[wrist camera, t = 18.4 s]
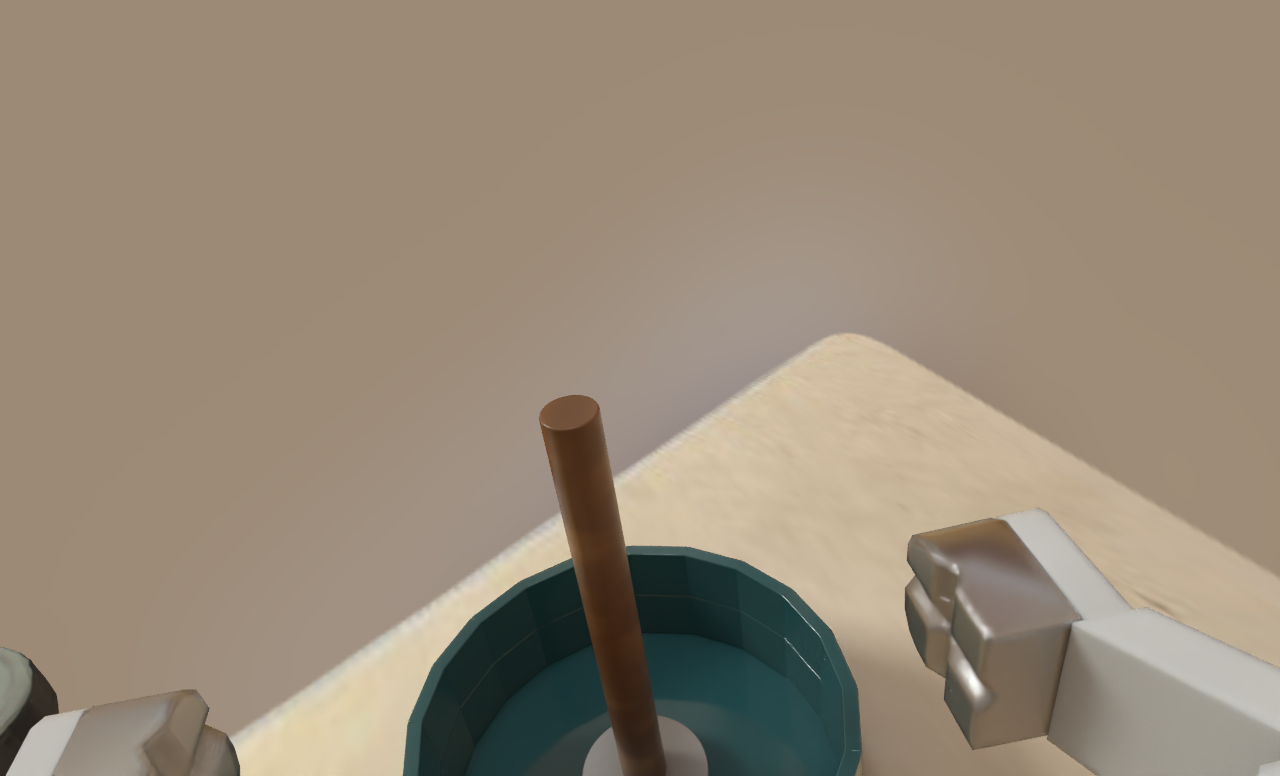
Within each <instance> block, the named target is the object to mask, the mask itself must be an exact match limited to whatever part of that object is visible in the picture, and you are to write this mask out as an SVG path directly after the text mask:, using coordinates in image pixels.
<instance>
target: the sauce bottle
mask: <svg viewBox="0 0 1280 776" xmlns="http://www.w3.org/2000/svg"><path fill="white" fill-rule="evenodd" d="M55 714H59V710H58V701H57V696H56V693H55V691H54V690H53V688H52V687H51V685H50V684H49V682H48V681H47V680H46V678H45V677H44V676H43V674H41V672H40V671H39V670H38V669H37V668H36V666H35V665H34V664H33V663H32V661H31V660H30V659H28V658H27V657H25V656H24V655H23V654H21V653H20V652H17V651H14V650H11V649H7V648H3V647H0V776H6V774H7V772H8V770H9V768H10V767H11V765H12V763H13V761H14V759H15V757H16V755H17V753H18V751H19V750H20V748H21V746H22V744H23V742H24V740H25V738H26V736H27V734H28V733H29V731H30V729H31V728H32V727H33V726H35V725H36V724H37V723H38V722H39V721H40V720H42V719H43V718H44V717H45V716H49V715H55Z"/></svg>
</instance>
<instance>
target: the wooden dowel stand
mask: <svg viewBox="0 0 1280 776" xmlns="http://www.w3.org/2000/svg"><path fill="white" fill-rule="evenodd" d="M539 421H540V425H541V429H542V433H543V438H544V442H545V446H546V450H547V454H548V459H549V463H550V467H551V472H552V476H553V480H554V484H555V489H556V493H557V497H558V501H559V505H560V510H561V514H562V518H563V522H564V527H565V531H566V535H567V539H568V544H569V548H570V552H571V556H572V560H573V565H574V569H575V573H576V577H577V582H578V586H579V590H580V594H581V598H582V603H583V607H584V611H585V615H586V620H587V624H588V628H589V632H590V637H591V641H592V645H593V649H594V653H595V658H596V662H597V666H598V670H599V675H600V679H601V683H602V687H603V691H604V696H605V700H606V704H607V708H608V713H609V717H610V721H611V725H612V727H611V728H609V729H608V730H606V731H605V732H604V733H603V734H602V735H601V736H600V737H599V738H598V739H597V740H596V742H595V743H594V744H593V746H592V747H591V749H590V751H589V753H588V755H587V758H586V760H585V763H584V767H583V775H582V776H710V774H709V767H708V761H707V756H706V753H705V750H704V748H703V746H702V744H701V742H700V741H699V739H698V738H697V736H696V735H695V734H694V733H693V732H692V731H691V730H690V729H688V728H687V727H686V726H685V725H683V724H681V723H680V722H678V721H676V720H673V719H670V718H667V717H663V716H657V713H656V707H655V702H654V697H653V691H652V686H651V681H650V675H649V670H648V665H647V659H646V654H645V649H644V643H643V638H642V633H641V627H640V622H639V616H638V611H637V606H636V600H635V595H634V590H633V584H632V579H631V574H630V568H629V563H628V558H627V552H626V547H625V542H624V536H623V531H622V526H621V520H620V515H619V510H618V504H617V499H616V493H615V488H614V483H613V477H612V472H611V467H610V461H609V456H608V451H607V445H606V441H605V435H604V429H603V424H602V419H601V413H600V408H599V406H598V404H597V402H596V401H595V400H593V399H592V398H590V397H587V396H582V395H570V396H565V397H561V398H558V399H556V400H553V401H552V402H550V403H548V404H547V405H546V406H545V407H544V408H543V409H542V411H541V412H540V416H539Z"/></svg>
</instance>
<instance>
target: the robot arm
mask: <svg viewBox="0 0 1280 776" xmlns="http://www.w3.org/2000/svg"><path fill="white" fill-rule="evenodd" d="M907 561H908V563H909V565H910V566H911V568H912V570H913V571H914V573H915V576H914V577H913V579H912V580H911V581H910V582H909V584H908V585H907V586H906V587H905V611H906V616H907V621H908V626H909V631H910V633H911V636H912V638H913V641H914V644H915V646H916V649H917V651H918V652H919V654H920V656H921V658H922V660H923V662H924V664H925V666H926V667H927V668H929V669H931V670H932V671H934V672H936V673H937V674H939V675H941V676H942V677H944V678H946V683H945V693H944V700H945V702H946V704H947V706H948V707H949V709H950V711H951V713H952V715H953V716H954V718H955V720H956V722H957V723H958V725H959V727H960V729H961V731H962V732H963V734H964V736H965V738H966V740H967V741H968V743H969V745H970V747H971V748H972V750H975V749H980V748H986V747H991V746H996V745H1001V744H1006V743H1011V742H1016V741H1021V740H1026V739H1031V738H1036V737H1041V736H1046V735H1048V737H1047V740H1049V741H1050V742H1051V743H1053V744H1054V745H1055V746H1057V747H1058V748H1060V749H1061V750H1062V751H1064V752H1065V753H1066V754H1068V755H1069V756H1071V757H1072V758H1073V759H1075V760H1076V761H1077V762H1079V763H1080V764H1082V765H1083V766H1084V767H1086V768H1087V769H1088V770H1090V771H1091V772H1093V773H1094V774H1095V775H1097V776H1280V668H1279V667H1277V666H1274V665H1272V664H1270V663H1268V662H1266V661H1263V660H1261V659H1259V658H1257V657H1255V656H1253V655H1250V654H1248V653H1246V652H1244V651H1242V650H1240V649H1237V648H1235V647H1233V646H1231V645H1229V644H1226V643H1224V642H1222V641H1220V640H1218V639H1216V638H1213V637H1211V636H1209V635H1207V634H1205V633H1202V632H1200V631H1198V630H1196V629H1194V628H1192V627H1189V626H1187V625H1185V624H1183V623H1181V622H1179V621H1176V620H1174V619H1172V618H1170V617H1168V616H1165V615H1163V614H1161V613H1159V612H1157V611H1155V610H1152V609H1150V608H1148V607H1144V608H1139V609H1133V608H1132V607H1131V606H1130V605H1129V604H1128V602H1127V601H1126V600H1125V599H1124V598H1123V597H1122V596H1121V594H1120V593H1119V592H1118V591H1117V590H1116V589H1115V588H1114V587H1113V585H1112V584H1111V583H1110V582H1109V581H1108V580H1107V579H1106V578H1105V576H1104V575H1103V574H1102V573H1101V572H1100V571H1099V570H1098V568H1097V567H1096V566H1095V565H1094V564H1093V563H1092V562H1091V561H1090V559H1089V558H1088V557H1087V556H1086V555H1085V554H1084V553H1083V552H1082V550H1081V549H1080V548H1079V547H1078V546H1077V545H1076V544H1075V542H1074V541H1073V540H1072V539H1071V538H1070V537H1069V536H1068V535H1067V533H1066V532H1065V531H1064V530H1063V529H1062V528H1061V527H1060V526H1059V524H1058V523H1057V522H1056V521H1055V520H1054V519H1053V518H1052V516H1051V515H1050V514H1049V513H1048V512H1046V511H1044V510H1042V509H1040V508H1034V509H1030V510H1025V511H1021V512H1016V513H1012V514H1007V515H1002V516H998V517H996V518H988V519H983V520H979V521H974V522H970V523H965V524H961V525H956V526H952V527H947V528H943V529H938V530H934V531H929V532H925V533H920V534H916V535H912V537H911V539H910V541H909V543H908V551H907ZM208 712H209V707H208V705H207V704H206V703H205V701H204V700H203V699H202V697H201V696H200V695H199V693H198V692H197V690H180V691H174V692H169V693H164V694H158V695H153V696H148V697H142V698H137V699H131V700H126V701H121V702H115V703H110V704H104V705H99V706H94V707H92V708H87V709H82V710H76V711H71V712H66V713H60V714H55V715H49V716H45V717H44V718H43V719H42V720H40V721H39V722H38V723H37V724H36V725H35V726H33V727H32V728H31V729H30V731H29V733H28V734H27V736H26V738H25V740H24V742H23V744H22V746H21V748H20V750H19V751H18V753H17V755H16V757H15V759H14V761H13V763H12V765H11V767H10V768H9V770H8V772H7V774H6V776H240V765H239V761H238V758H237V755H236V751H235V748H234V746H233V744H232V743H231V741H230V739H229V738H228V736H227V735H226V733H224V732H221V731H219V730H217V729H214V728H212V727H210V726H207V725H205V721H206V718H207V715H208Z"/></svg>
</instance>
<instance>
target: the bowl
mask: <svg viewBox="0 0 1280 776" xmlns="http://www.w3.org/2000/svg"><path fill="white" fill-rule="evenodd" d="M626 552H627V558H628V563H629V568H630V574H631V579H632V584H633V590H634V595H635V600H636V606H637V611H638V616H639V622H640V627H641V633H642V638H643V643H644V649H645V654H646V659H647V665H648V670H649V675H650V681H651V686H652V691H653V697H654V702H655V707H656V713H657V716H663V717H667V718H670V719H673V720H676V721H678V722H680V723H681V724H683V725H685V726H686V727H687V728H688V729H690V730H691V731H692V732H693V733H694V734H695V735H696V736H697V738H698V739H699V741H700V742H701V744H702V746H703V748H704V750H705V753H706V756H707V761H708V767H709V774H710V776H861V772H862V743H861V728H860V713H859V697H858V688H857V685H856V682H855V680H854V678H853V676H852V674H851V671H850V669H849V667H848V665H847V662H846V660H845V658H844V656H843V654H842V651H841V649H840V647H839V645H838V643H837V640H836V638H835V636H834V634H833V632H832V630H831V629H830V628H829V627H828V626H827V625H826V624H825V623H824V622H823V621H822V620H821V619H820V618H819V617H818V616H817V614H816V613H815V612H814V611H813V610H812V609H811V608H810V607H809V606H808V605H807V604H806V603H805V602H804V601H803V600H802V599H801V598H800V597H799V595H798V594H797V593H796V592H795V591H794V590H792V589H791V588H790V587H788V586H786V585H784V584H783V583H781V582H779V581H777V580H776V579H774V578H772V577H770V576H769V575H767V574H765V573H763V572H761V571H760V570H758V569H756V568H754V567H753V566H751V565H749V564H747V563H746V562H744V561H741V560H737V559H733V558H729V557H725V556H722V555H718V554H714V553H710V552H706V551H702V550H699V549H695V548H691V547H688V548H687V547H673V546H631V547H630V546H626ZM611 727H612V725H611V721H610V717H609V713H608V708H607V704H606V700H605V696H604V691H603V687H602V683H601V679H600V675H599V670H598V666H597V662H596V658H595V653H594V649H593V645H592V641H591V637H590V632H589V628H588V624H587V620H586V615H585V611H584V607H583V603H582V598H581V594H580V590H579V586H578V582H577V577H576V573H575V569H574V565H573V560H572V558H571V559H569V560H566V561H564V562H562V563H560V564H557V565H555V566H553V567H551V568H548V569H546V570H544V571H542V572H540V573H537V574H535V575H533V576H531V577H528V578H526V579H524V580H522V581H520V582H518V583H517V584H516V585H514V586H513V587H512V588H510V589H509V590H508V591H506V592H505V593H504V594H502V595H501V596H500V597H498V598H497V599H496V600H494V601H493V602H492V603H490V604H489V605H488V606H486V607H485V608H484V609H482V610H481V611H480V612H478V613H477V614H476V615H474V616H473V617H472V619H470V620H469V621H468V622H467V624H466V625H465V626H464V627H463V629H462V630H461V631H460V632H459V634H458V635H457V636H456V637H455V638H454V640H453V641H452V642H451V643H450V645H449V646H448V647H447V648H446V650H445V651H444V652H443V653H442V654H441V656H440V657H439V658H438V659H437V661H436V662H435V663H434V664H433V666H432V668H431V670H430V672H429V675H428V677H427V679H426V682H425V684H424V686H423V689H422V691H421V693H420V696H419V698H418V700H417V703H416V705H415V707H414V710H413V712H412V714H411V716H410V719H409V721H408V725H407V735H406V747H405V758H404V769H403V776H582V775H583V767H584V763H585V760H586V758H587V755H588V753H589V751H590V749H591V747H592V746H593V744H594V743H595V742H596V740H597V739H598V738H599V737H600V736H601V735H602V734H603V733H604V732H605V731H606V730H608V729H609V728H611Z"/></svg>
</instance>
